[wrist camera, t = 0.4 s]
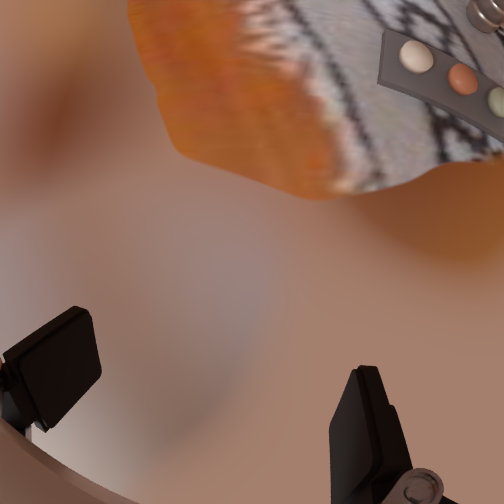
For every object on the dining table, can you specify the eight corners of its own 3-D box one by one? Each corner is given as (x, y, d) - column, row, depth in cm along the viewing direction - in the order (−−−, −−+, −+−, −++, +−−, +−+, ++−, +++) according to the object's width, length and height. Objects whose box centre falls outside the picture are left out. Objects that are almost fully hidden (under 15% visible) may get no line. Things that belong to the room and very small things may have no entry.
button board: (382, 34, 28) (385, 28, 26) (502, 94, 26) (509, 92, 24) (377, 83, 30) (381, 79, 28) (501, 142, 28) (508, 141, 26)
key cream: (399, 41, 26) (403, 35, 24) (427, 53, 25) (433, 48, 23) (397, 67, 27) (402, 61, 25) (426, 79, 26) (432, 74, 24)
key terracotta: (446, 62, 25) (452, 58, 23) (470, 75, 24) (477, 72, 22) (446, 88, 26) (452, 84, 24) (470, 101, 26) (477, 98, 24)
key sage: (486, 85, 24) (493, 82, 22) (505, 98, 24) (512, 96, 22) (486, 110, 25) (493, 107, 23) (505, 122, 25) (513, 121, 23)
